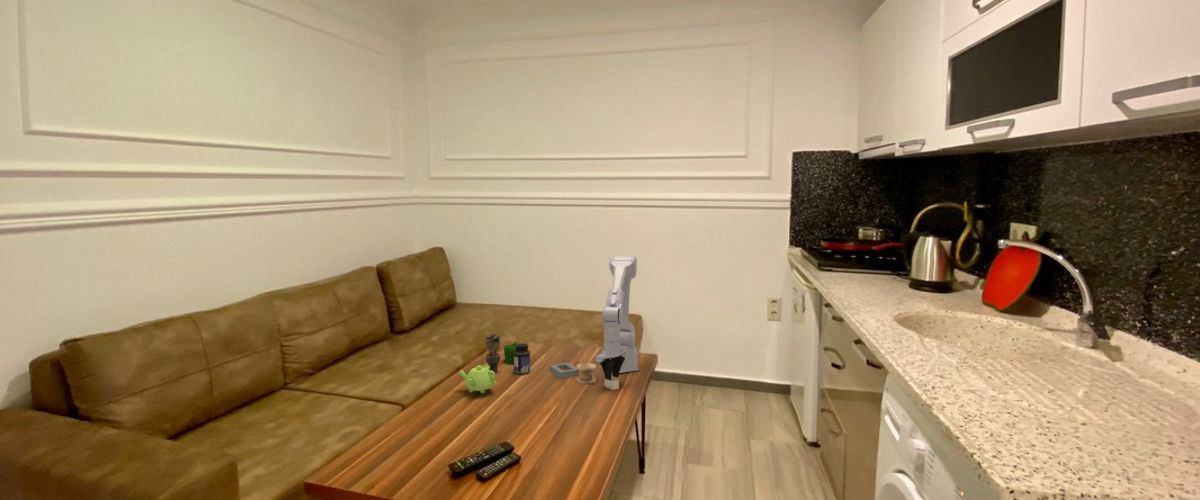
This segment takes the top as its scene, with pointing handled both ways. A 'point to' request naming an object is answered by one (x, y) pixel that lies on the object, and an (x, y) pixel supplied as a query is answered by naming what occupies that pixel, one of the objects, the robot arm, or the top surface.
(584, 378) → the bobbin
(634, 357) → the robot arm
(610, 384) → the rectangular block
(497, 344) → the dark carved statue
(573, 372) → the board with rectangular hole
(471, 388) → the teapot
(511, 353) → the bell pepper
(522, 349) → the pill bottle
